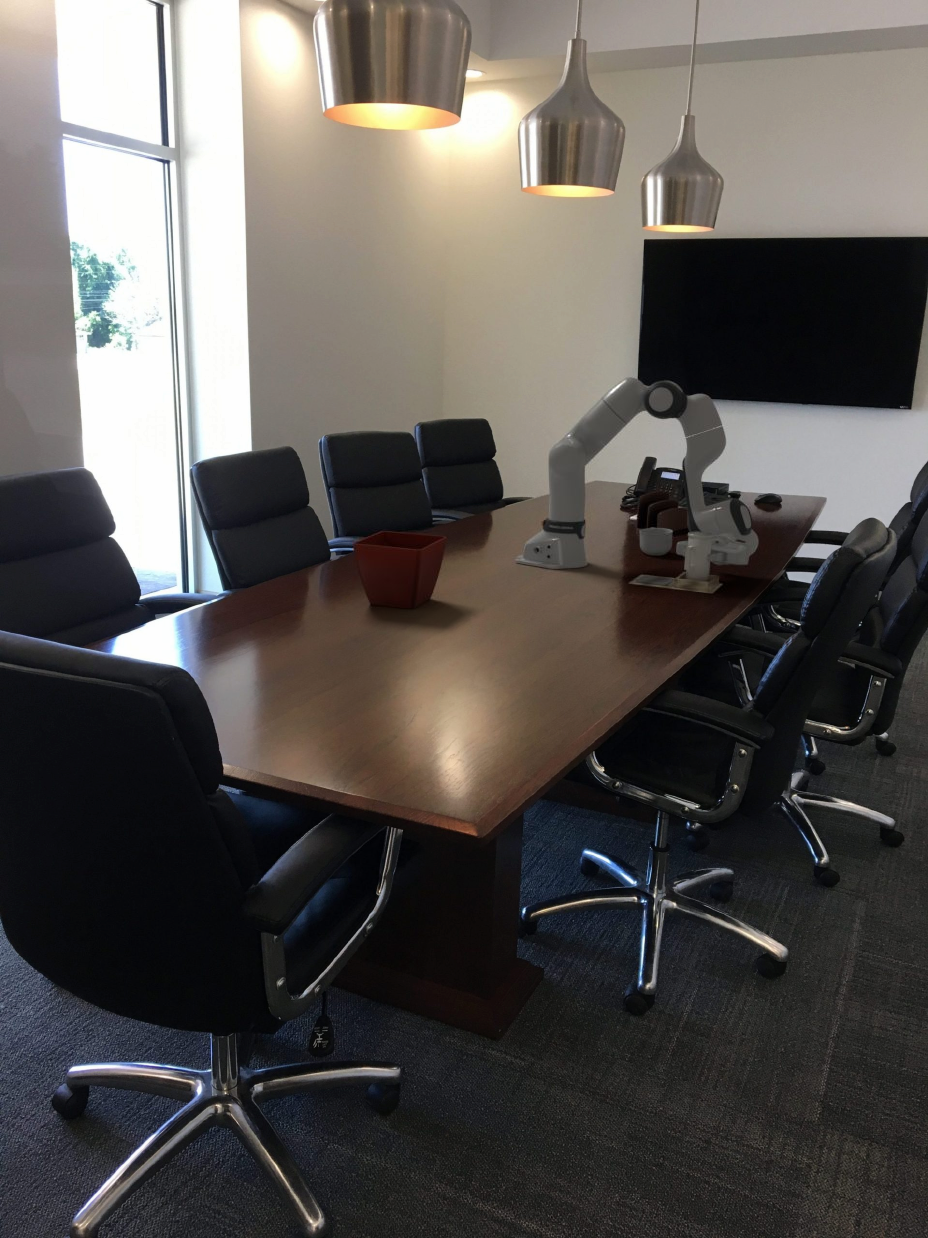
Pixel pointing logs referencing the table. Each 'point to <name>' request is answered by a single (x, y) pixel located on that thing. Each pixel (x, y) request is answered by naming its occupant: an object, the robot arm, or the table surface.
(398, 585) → the plant pot
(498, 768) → the table surface
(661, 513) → the letter holder
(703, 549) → the tall white canister
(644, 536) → the teacup
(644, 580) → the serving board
